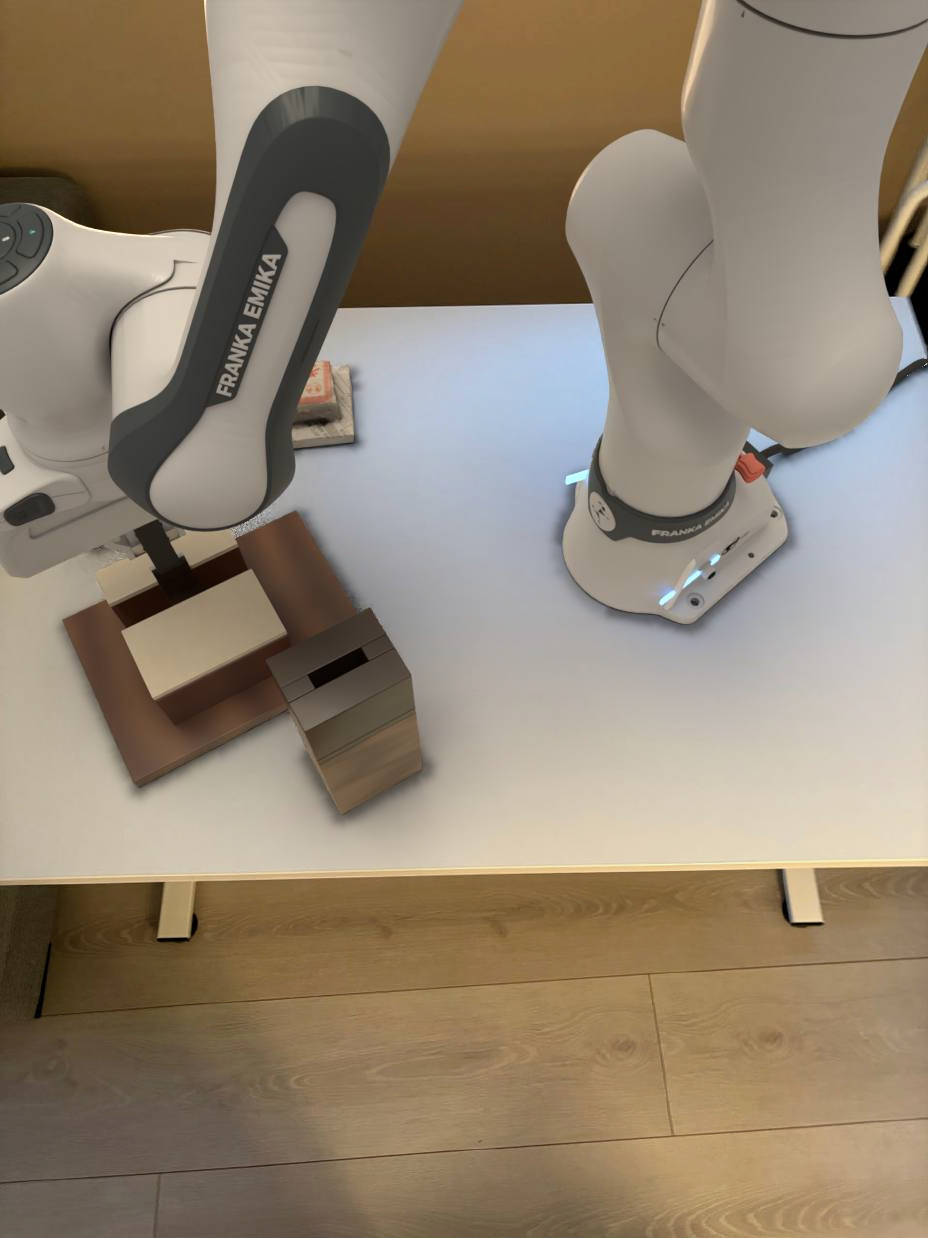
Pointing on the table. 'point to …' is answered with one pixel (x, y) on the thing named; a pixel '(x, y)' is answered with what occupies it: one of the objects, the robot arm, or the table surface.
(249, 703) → the board
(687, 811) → the table surface
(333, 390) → the packaged product
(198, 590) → the knife
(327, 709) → the knife block
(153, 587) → the cake slice
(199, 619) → the cake
